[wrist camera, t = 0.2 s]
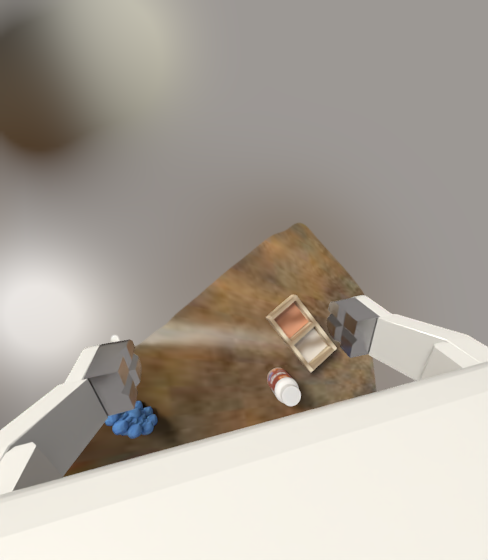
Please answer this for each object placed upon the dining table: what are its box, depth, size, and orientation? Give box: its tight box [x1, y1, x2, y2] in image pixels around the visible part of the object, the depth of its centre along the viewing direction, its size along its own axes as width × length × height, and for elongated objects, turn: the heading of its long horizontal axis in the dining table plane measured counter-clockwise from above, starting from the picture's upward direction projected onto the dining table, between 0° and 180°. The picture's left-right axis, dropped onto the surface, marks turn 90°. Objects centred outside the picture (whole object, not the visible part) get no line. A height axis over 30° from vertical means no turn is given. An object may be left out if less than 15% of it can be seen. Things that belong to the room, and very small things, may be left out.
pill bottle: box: [267, 368, 301, 406], centre depth 59 cm, size 6×6×11 cm
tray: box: [265, 295, 337, 372], centre depth 64 cm, size 19×10×4 cm, turn 39°
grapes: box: [105, 401, 158, 438], centre depth 52 cm, size 12×7×12 cm, turn 60°
